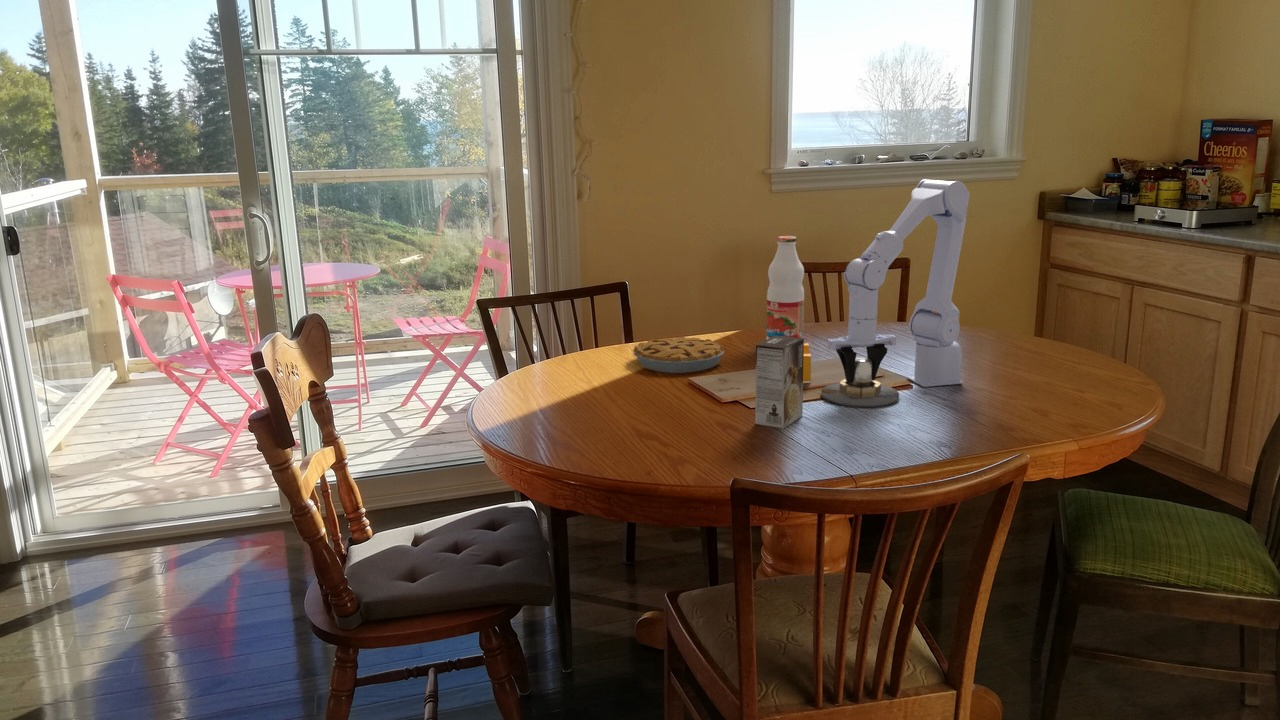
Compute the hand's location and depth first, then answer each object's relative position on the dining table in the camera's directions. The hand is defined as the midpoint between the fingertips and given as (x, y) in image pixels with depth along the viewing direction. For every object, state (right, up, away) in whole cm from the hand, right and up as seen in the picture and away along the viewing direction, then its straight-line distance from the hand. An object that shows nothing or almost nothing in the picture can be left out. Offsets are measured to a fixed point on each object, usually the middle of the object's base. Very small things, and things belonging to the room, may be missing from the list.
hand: (860, 380), depth 202 cm
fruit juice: (-9, +8, +47) cm, 48 cm away
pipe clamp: (-10, 0, +18) cm, 20 cm away
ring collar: (0, -3, +1) cm, 4 cm away
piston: (0, -2, 0) cm, 2 cm away
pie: (-37, +3, +32) cm, 49 cm away
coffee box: (-19, -8, -13) cm, 24 cm away
